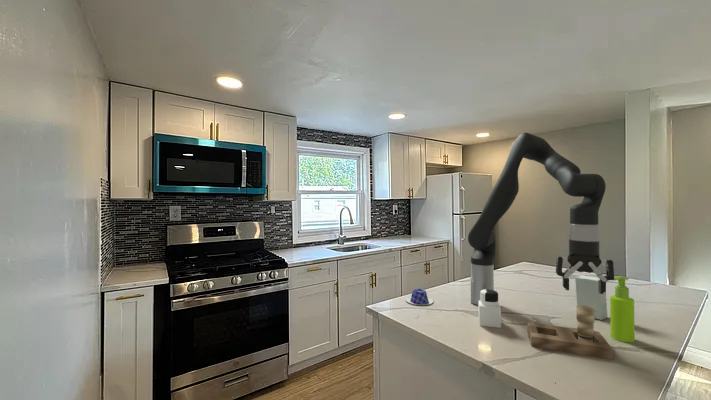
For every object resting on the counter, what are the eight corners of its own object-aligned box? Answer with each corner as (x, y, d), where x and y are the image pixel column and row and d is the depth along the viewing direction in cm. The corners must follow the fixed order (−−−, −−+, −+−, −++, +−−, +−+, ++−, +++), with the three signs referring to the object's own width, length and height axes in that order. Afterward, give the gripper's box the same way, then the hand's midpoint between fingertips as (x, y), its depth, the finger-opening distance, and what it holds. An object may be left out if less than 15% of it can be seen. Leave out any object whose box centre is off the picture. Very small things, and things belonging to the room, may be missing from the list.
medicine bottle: (499, 320, 115) (498, 288, 115) (501, 328, 108) (501, 294, 108) (478, 318, 117) (478, 287, 117) (479, 325, 110) (479, 292, 110)
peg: (578, 348, 93) (578, 308, 93) (575, 342, 97) (574, 304, 97) (596, 351, 91) (596, 311, 91) (592, 344, 95) (591, 306, 95)
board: (531, 346, 95) (531, 335, 95) (527, 330, 106) (527, 321, 106) (612, 359, 87) (612, 347, 87) (599, 341, 98) (598, 331, 98)
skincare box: (607, 317, 117) (607, 278, 117) (601, 321, 114) (601, 280, 114) (582, 310, 124) (581, 274, 124) (575, 314, 121) (575, 276, 121)
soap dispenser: (602, 335, 102) (602, 274, 102) (622, 334, 102) (621, 274, 102) (619, 343, 96) (618, 279, 96) (639, 342, 97) (639, 278, 97)
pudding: (438, 305, 133) (438, 293, 133) (412, 307, 130) (412, 295, 130) (425, 296, 145) (425, 285, 145) (401, 299, 142) (401, 287, 142)
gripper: (558, 239, 94) (558, 292, 94) (617, 241, 88) (617, 298, 88) (554, 236, 100) (554, 285, 100) (608, 238, 94) (608, 291, 95)
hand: (583, 291), depth 94 cm, fingers open, 8 cm apart
